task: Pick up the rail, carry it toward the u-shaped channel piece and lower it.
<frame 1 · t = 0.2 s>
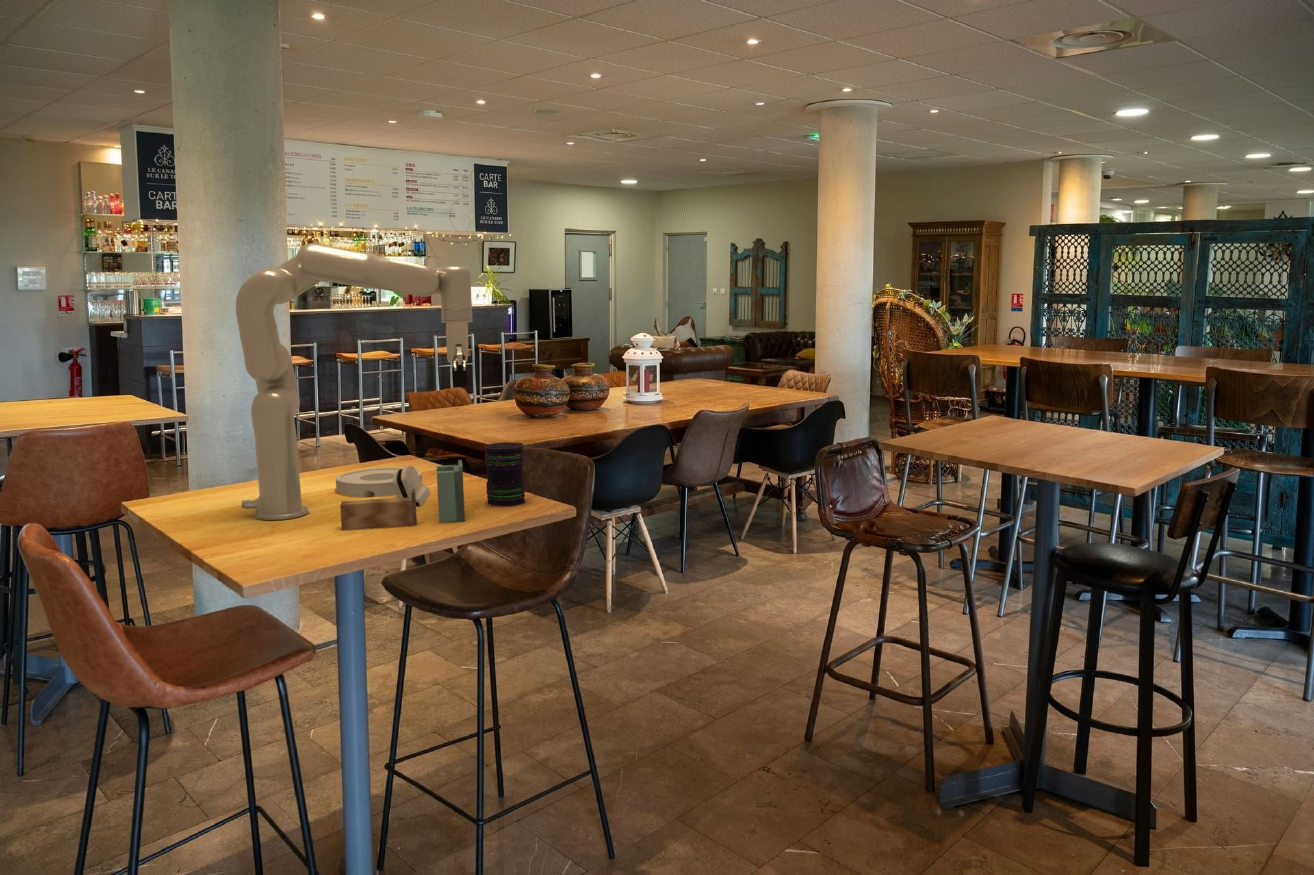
hand: (460, 384, 245), 31 cm above the table, tool pointing down, fingers open, 9 cm apart
u-shaped channel piece: (451, 517, 236), on the table
hinge: (411, 501, 256), on the table
storage jar: (506, 503, 252), on the table
rail: (378, 525, 228), on the table
ashtray: (380, 490, 272), on the table
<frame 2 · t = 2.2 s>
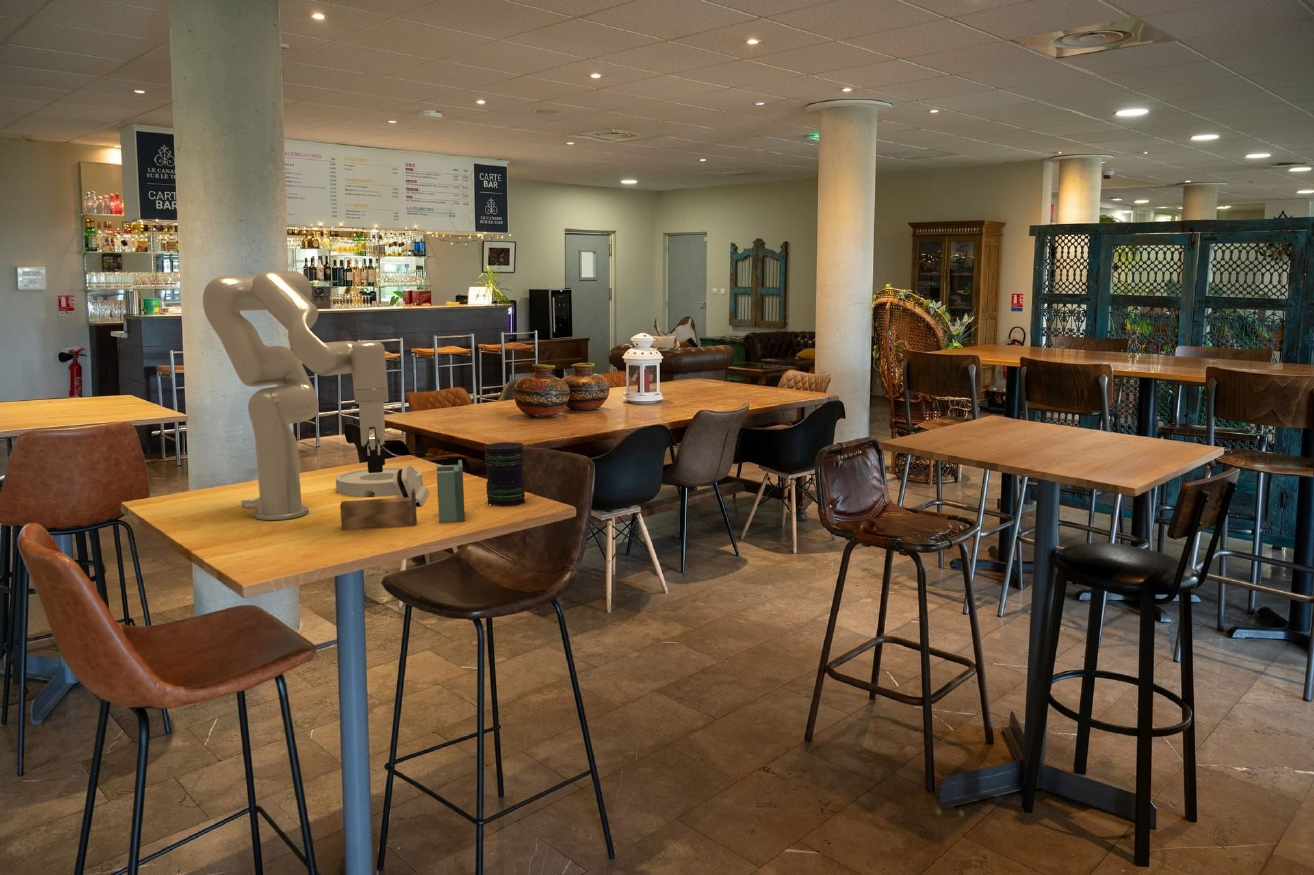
hand: (376, 469, 226), 14 cm above the table, tool pointing down, fingers open, 9 cm apart
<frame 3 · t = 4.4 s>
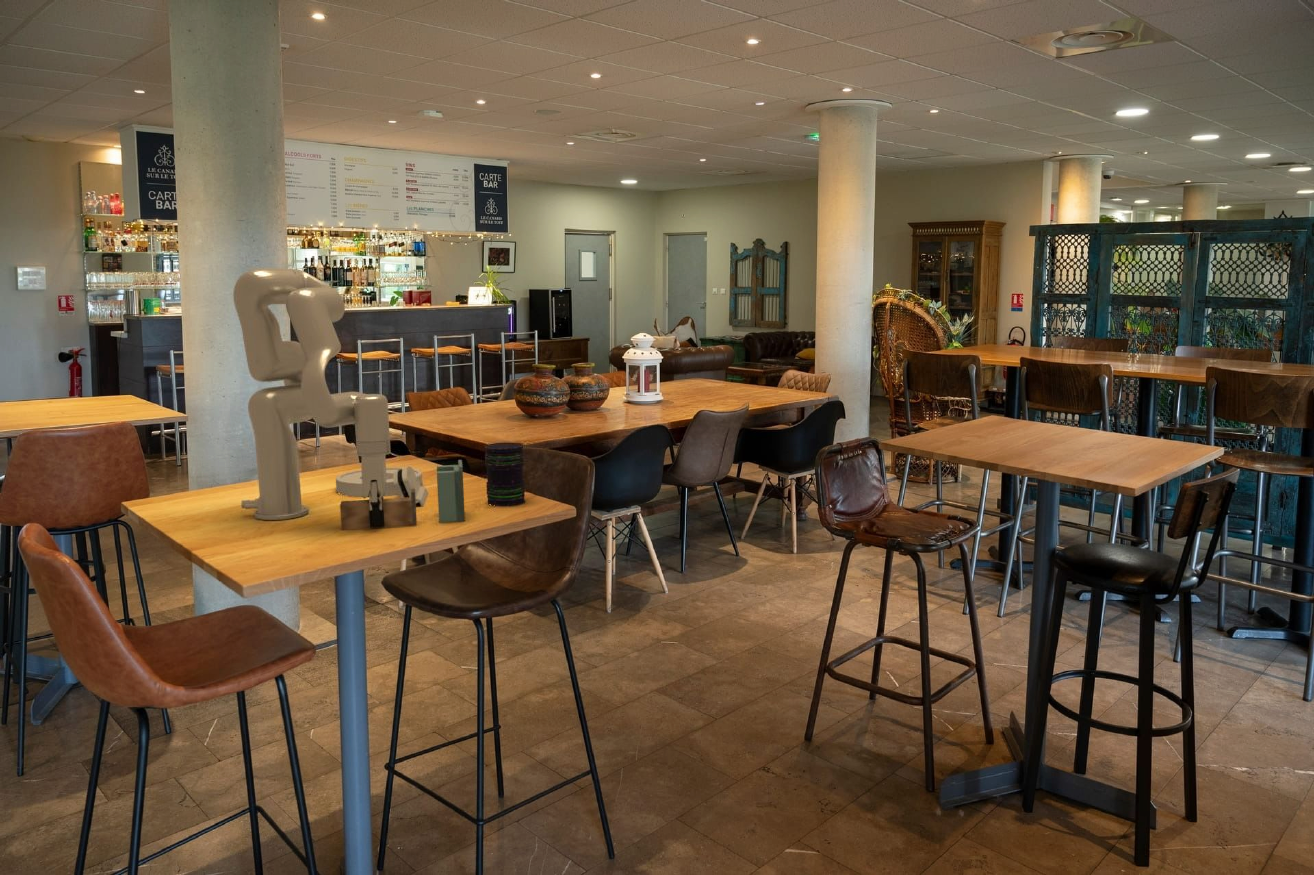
hand: (377, 523, 228), 1 cm above the table, tool pointing down, fingers closed on rail, 4 cm apart
rail: (377, 525, 228), on the table, touching gripper
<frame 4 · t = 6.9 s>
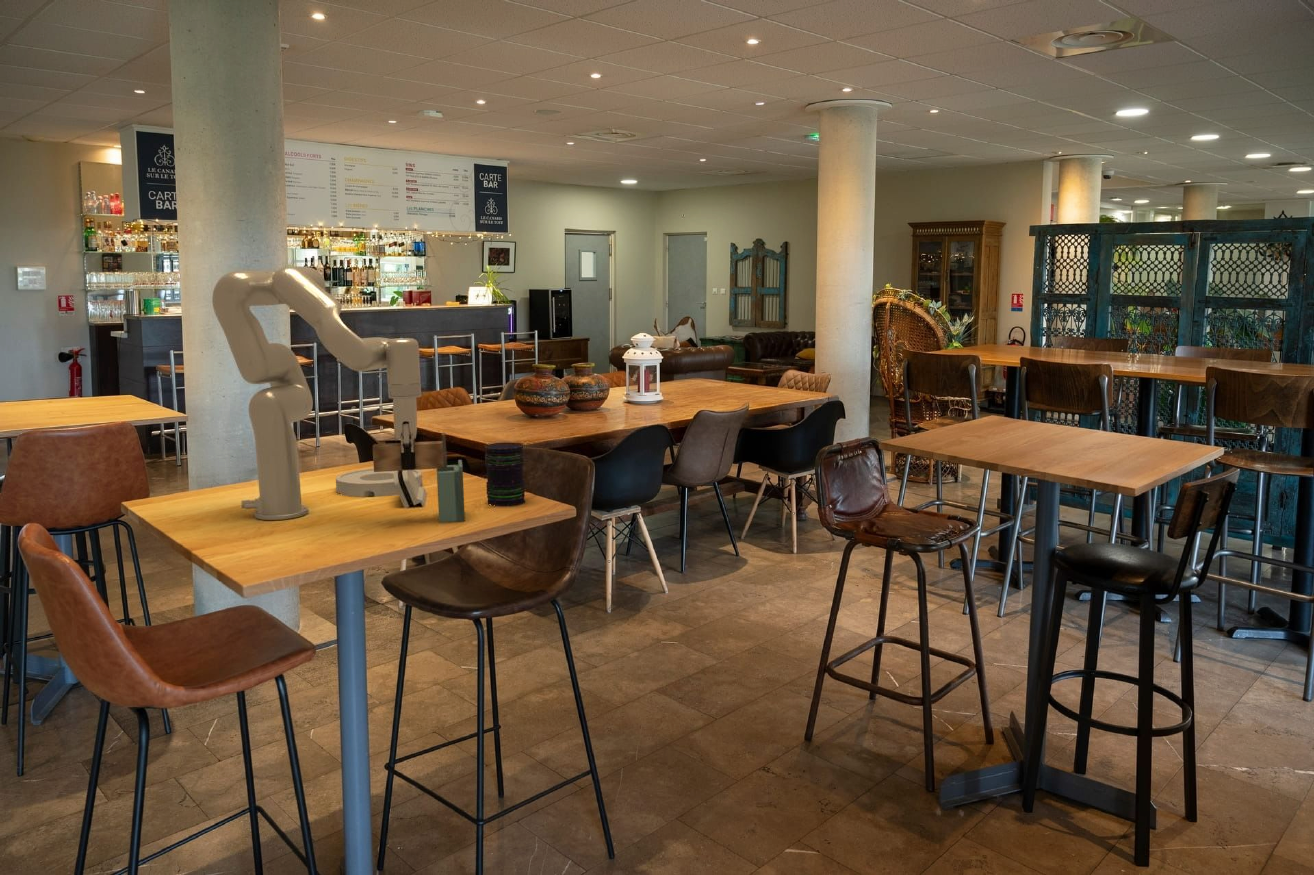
hand: (409, 466, 232), 13 cm above the table, tool pointing down, fingers closed on rail, 4 cm apart
rail: (409, 468, 232), point 13 cm above the table, touching gripper
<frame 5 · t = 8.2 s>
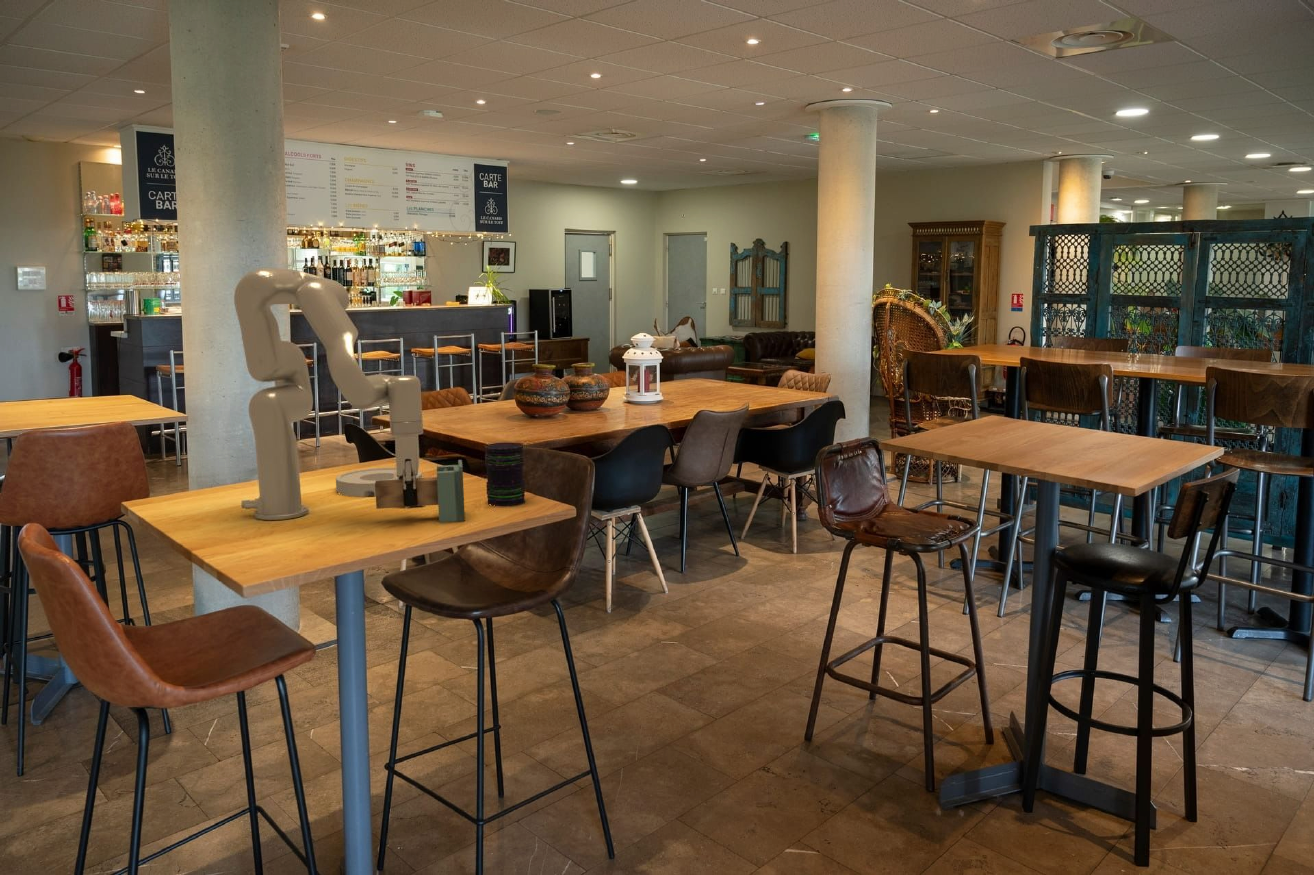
hand: (411, 502, 233), 4 cm above the table, tool pointing down, fingers closed on rail, 4 cm apart
rail: (411, 504, 233), point 4 cm above the table, touching gripper
when the fingers open (2 cm above the table, at t = 9.4 s): rail drops 1 cm, on the table.
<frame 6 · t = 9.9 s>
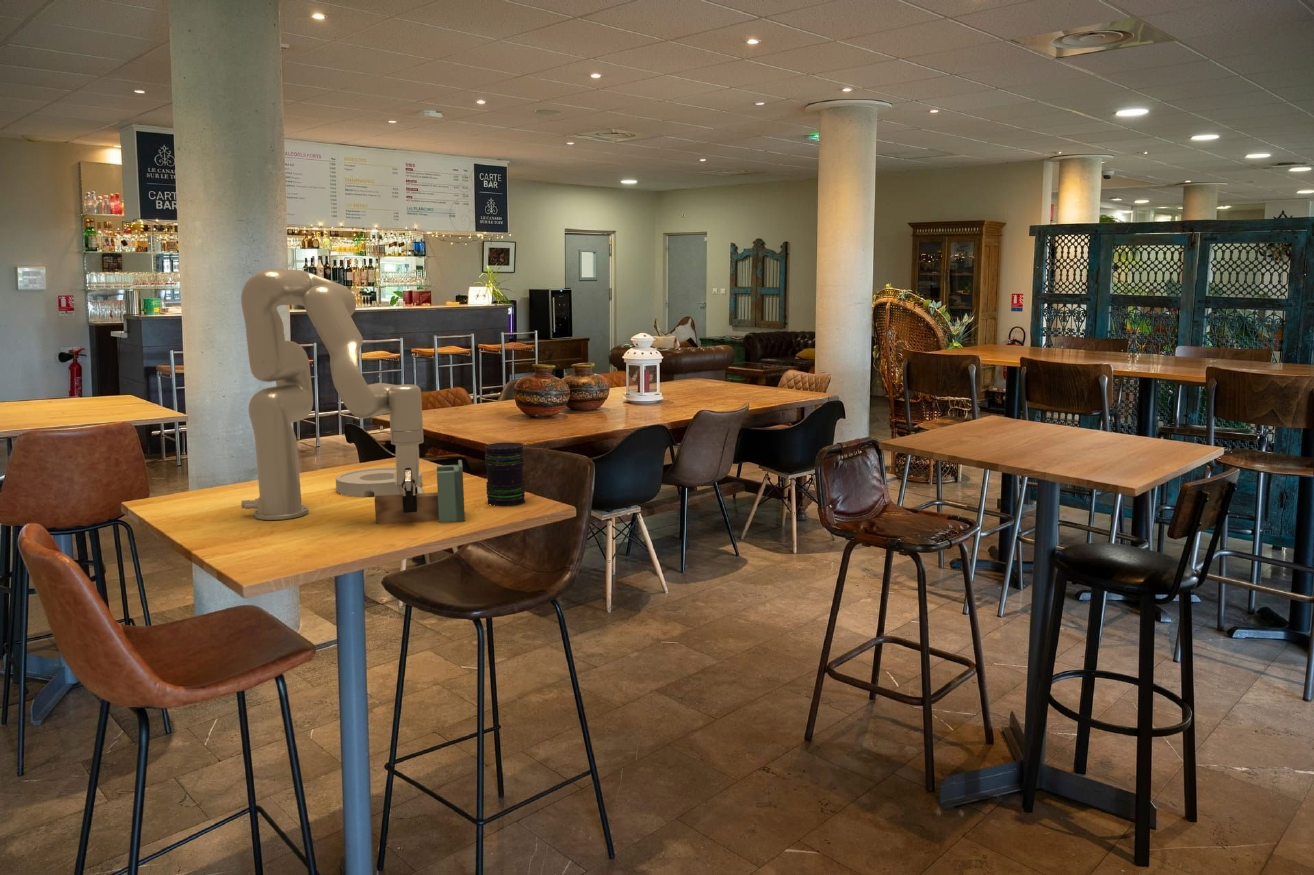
hand: (410, 507, 233), 3 cm above the table, tool pointing down, fingers open, 9 cm apart
rail: (410, 520, 234), on the table
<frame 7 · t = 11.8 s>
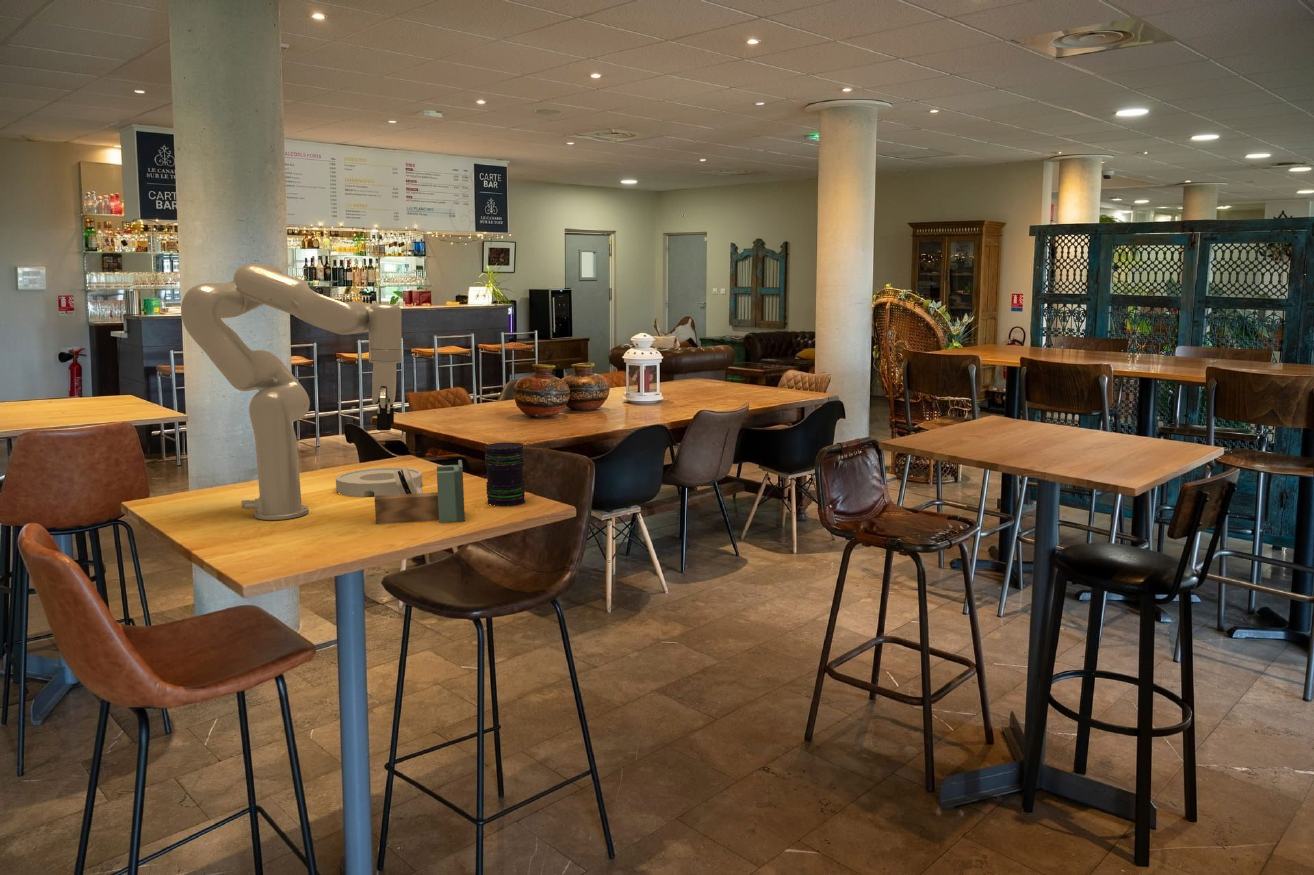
hand: (385, 427, 235), 22 cm above the table, tool pointing down, fingers open, 9 cm apart
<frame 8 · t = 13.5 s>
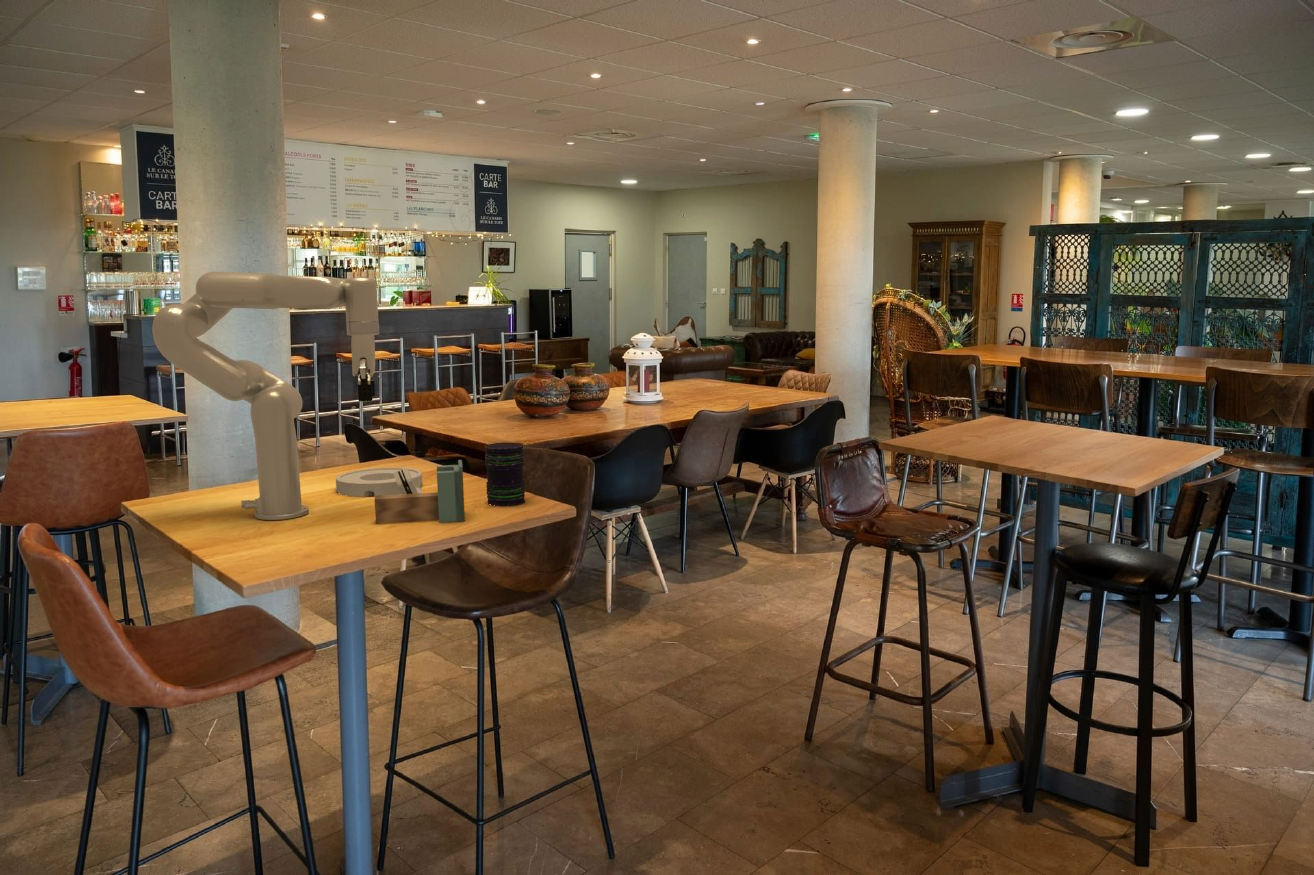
hand: (367, 398, 239), 28 cm above the table, tool pointing down, fingers open, 9 cm apart
at the end: rail 0.3 cm from the target spot on the table beside the u-shaped channel piece, on the table; rail tilted 0°; the gripper is holding nothing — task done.
